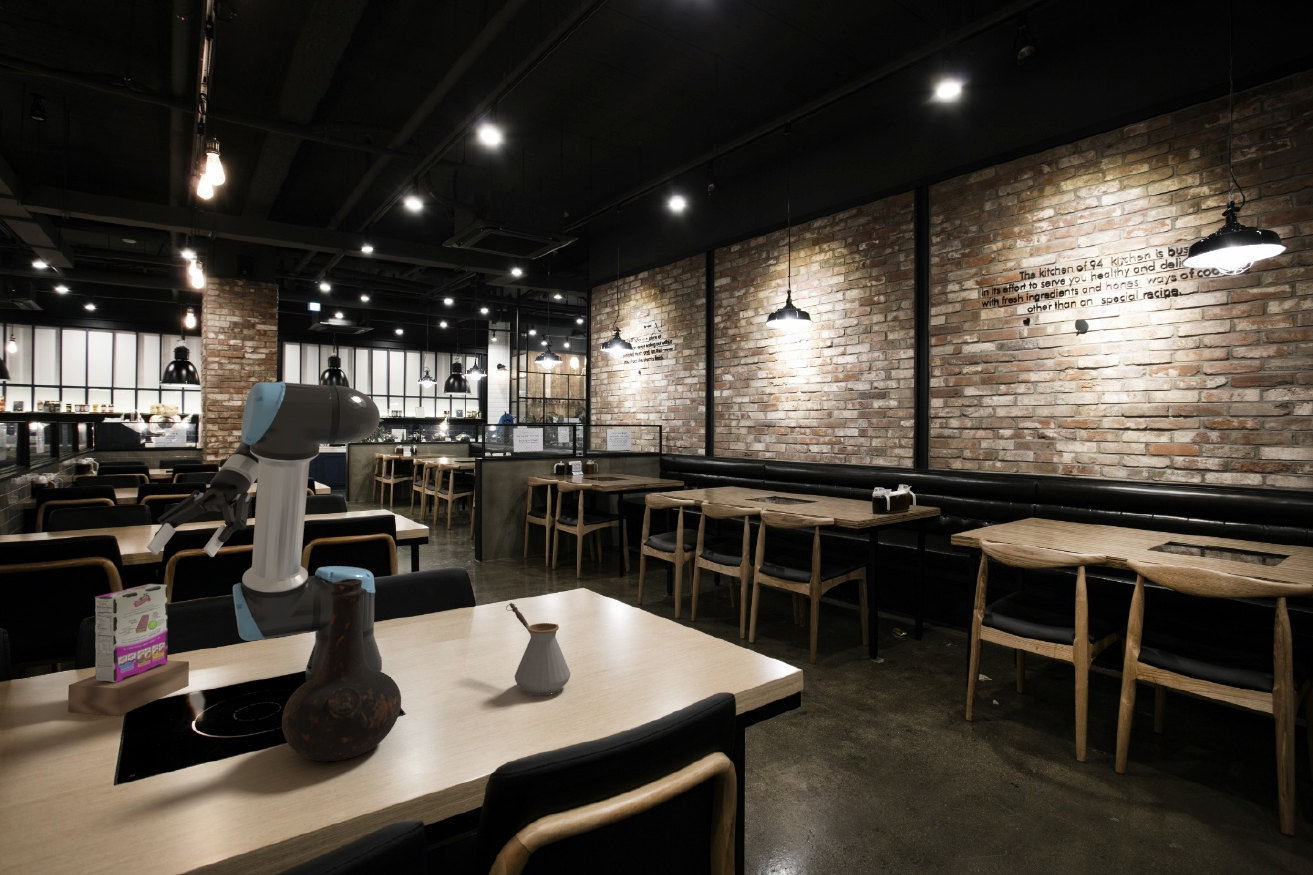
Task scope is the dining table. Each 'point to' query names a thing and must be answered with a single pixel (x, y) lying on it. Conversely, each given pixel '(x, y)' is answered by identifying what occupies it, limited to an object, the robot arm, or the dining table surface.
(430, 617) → the dining table surface
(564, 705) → the dining table surface
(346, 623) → the brown bottle vase
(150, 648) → the candy bar box
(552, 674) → the coffee pot
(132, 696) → the walnut plinth
